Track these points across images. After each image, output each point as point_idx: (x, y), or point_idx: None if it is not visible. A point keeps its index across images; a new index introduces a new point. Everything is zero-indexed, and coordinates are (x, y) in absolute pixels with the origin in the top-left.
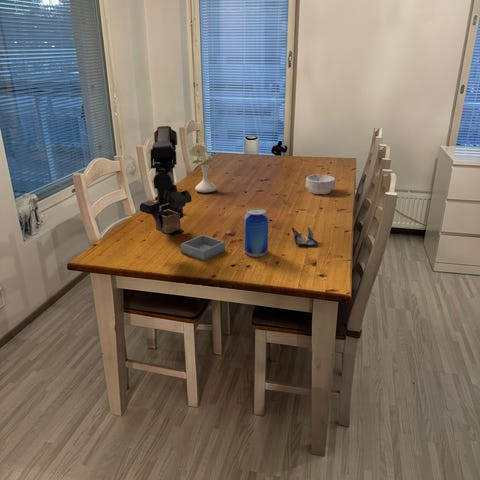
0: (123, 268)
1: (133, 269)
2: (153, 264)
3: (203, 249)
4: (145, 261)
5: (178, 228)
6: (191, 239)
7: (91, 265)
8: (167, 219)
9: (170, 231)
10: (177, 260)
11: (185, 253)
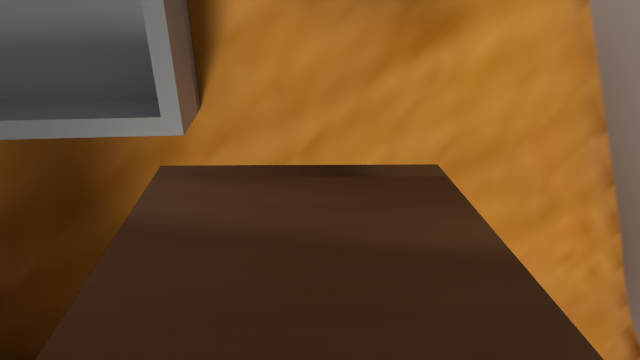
0: (608, 206)
1: (598, 151)
2: (478, 109)
3: None
4: (466, 187)
5: (200, 174)
6: (27, 136)
7: (634, 341)
8: (549, 346)
9: (380, 171)
10: (323, 16)
11: (192, 56)
